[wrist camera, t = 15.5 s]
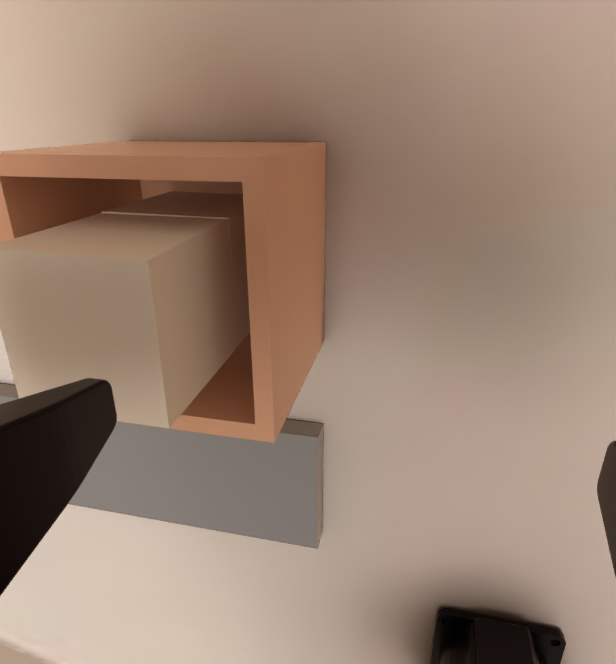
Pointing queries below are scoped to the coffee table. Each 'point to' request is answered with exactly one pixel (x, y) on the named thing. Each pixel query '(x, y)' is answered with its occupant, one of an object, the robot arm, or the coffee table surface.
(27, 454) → the robot arm
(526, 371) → the coffee table surface
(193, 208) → the block
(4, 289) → the block
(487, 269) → the coffee table surface
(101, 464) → the slate board
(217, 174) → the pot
